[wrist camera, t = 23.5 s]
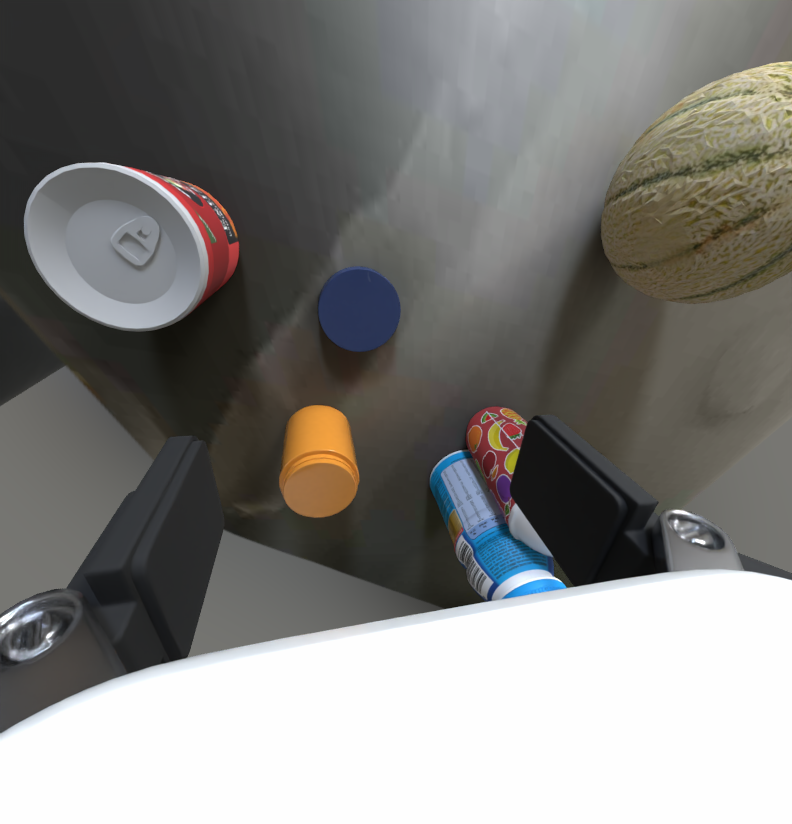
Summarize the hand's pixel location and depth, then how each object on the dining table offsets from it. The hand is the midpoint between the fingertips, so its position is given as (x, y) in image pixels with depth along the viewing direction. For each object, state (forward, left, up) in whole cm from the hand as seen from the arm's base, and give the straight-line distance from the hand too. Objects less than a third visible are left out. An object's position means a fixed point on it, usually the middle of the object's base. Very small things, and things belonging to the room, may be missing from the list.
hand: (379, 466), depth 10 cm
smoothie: (+18, -14, -24) cm, 33 cm away
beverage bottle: (+15, -21, -24) cm, 36 cm away
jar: (-2, -14, -24) cm, 28 cm away
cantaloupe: (+28, +9, -24) cm, 38 cm away
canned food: (-11, +4, -24) cm, 27 cm away
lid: (+2, -1, -23) cm, 23 cm away
